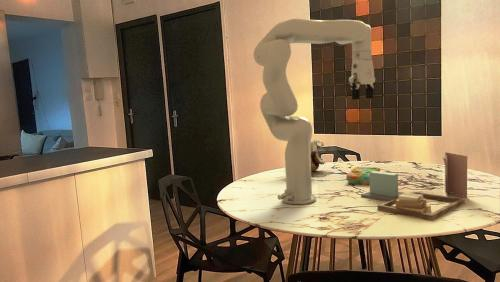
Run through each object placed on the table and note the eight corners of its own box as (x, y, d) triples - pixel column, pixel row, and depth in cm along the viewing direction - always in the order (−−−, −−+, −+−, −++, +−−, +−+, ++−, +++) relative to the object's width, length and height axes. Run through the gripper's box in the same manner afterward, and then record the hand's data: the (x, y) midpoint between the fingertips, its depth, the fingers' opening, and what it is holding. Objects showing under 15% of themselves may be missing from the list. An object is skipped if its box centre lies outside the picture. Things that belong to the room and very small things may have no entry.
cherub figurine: (336, 172, 204) (335, 136, 202) (318, 179, 190) (317, 140, 188) (305, 169, 215) (304, 135, 213) (286, 175, 201) (285, 139, 199)
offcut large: (421, 218, 129) (421, 210, 128) (391, 213, 136) (391, 205, 136) (430, 213, 133) (430, 205, 133) (401, 208, 141) (401, 201, 140)
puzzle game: (346, 174, 177) (354, 165, 195) (346, 184, 177) (354, 175, 196) (374, 174, 172) (379, 166, 190) (374, 185, 173) (380, 176, 191)
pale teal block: (393, 196, 150) (393, 175, 149) (369, 192, 157) (369, 172, 156) (398, 195, 152) (397, 173, 151) (374, 191, 159) (373, 170, 158)
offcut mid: (421, 209, 129) (421, 203, 129) (395, 206, 134) (395, 200, 134) (426, 204, 134) (426, 198, 134) (401, 202, 139) (401, 196, 139)
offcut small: (417, 202, 130) (416, 198, 130) (398, 200, 134) (398, 195, 134) (423, 199, 134) (423, 194, 134) (405, 196, 138) (405, 192, 138)
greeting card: (442, 190, 157) (442, 152, 156) (464, 191, 155) (464, 152, 153) (444, 198, 147) (444, 157, 145) (467, 199, 144) (468, 157, 142)
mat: (390, 201, 146) (390, 199, 146) (361, 196, 155) (361, 194, 155) (407, 195, 154) (407, 193, 154) (378, 190, 163) (378, 188, 163)
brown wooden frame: (431, 220, 124) (431, 215, 124) (377, 209, 138) (377, 205, 138) (464, 203, 140) (464, 199, 139) (413, 195, 153) (413, 191, 153)
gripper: (357, 55, 158) (358, 99, 160) (381, 55, 169) (382, 97, 171) (341, 57, 164) (342, 100, 166) (366, 57, 175) (366, 98, 177)
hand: (362, 98), depth 168 cm, fingers open, 9 cm apart
